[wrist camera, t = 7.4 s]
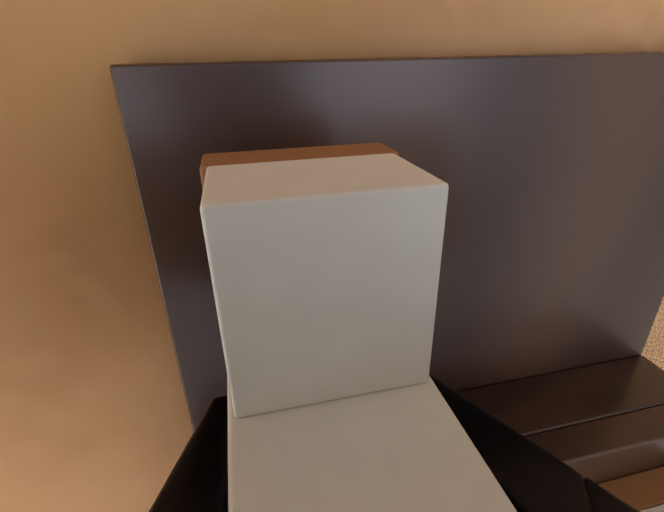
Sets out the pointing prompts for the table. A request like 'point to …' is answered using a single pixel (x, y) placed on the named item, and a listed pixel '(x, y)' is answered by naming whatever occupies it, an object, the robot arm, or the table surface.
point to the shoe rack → (454, 220)
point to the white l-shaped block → (640, 489)
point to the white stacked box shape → (334, 334)
